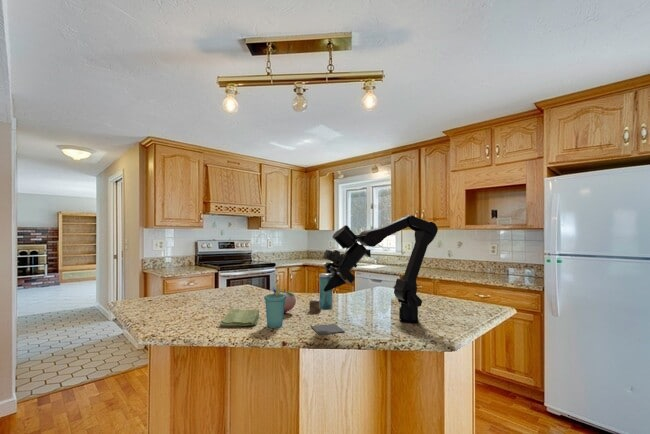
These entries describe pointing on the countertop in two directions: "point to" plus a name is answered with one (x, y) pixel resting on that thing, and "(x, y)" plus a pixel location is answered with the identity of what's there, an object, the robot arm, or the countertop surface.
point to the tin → (325, 297)
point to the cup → (275, 307)
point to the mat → (327, 329)
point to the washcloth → (240, 318)
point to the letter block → (314, 305)
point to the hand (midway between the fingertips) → (322, 289)
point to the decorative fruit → (288, 300)
